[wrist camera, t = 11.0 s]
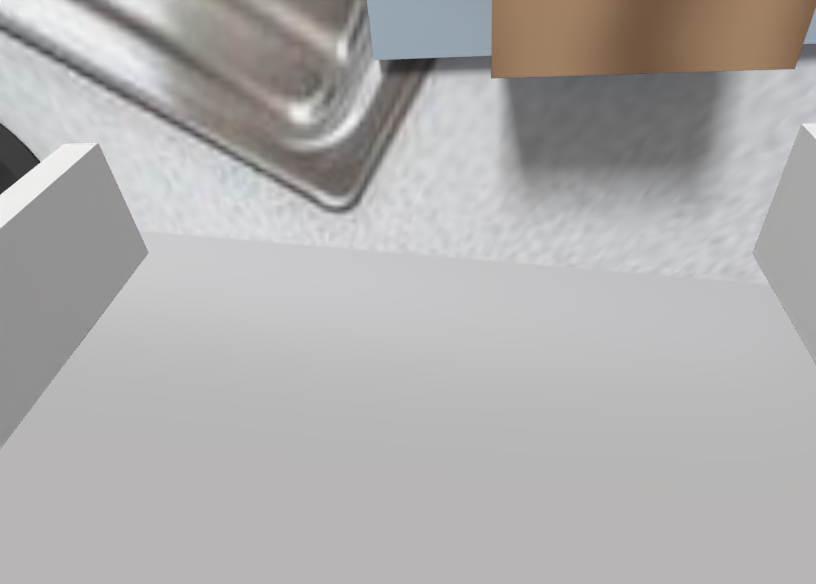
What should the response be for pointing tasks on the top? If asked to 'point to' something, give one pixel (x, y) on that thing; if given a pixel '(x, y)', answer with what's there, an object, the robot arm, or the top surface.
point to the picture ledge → (442, 28)
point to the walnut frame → (645, 36)
